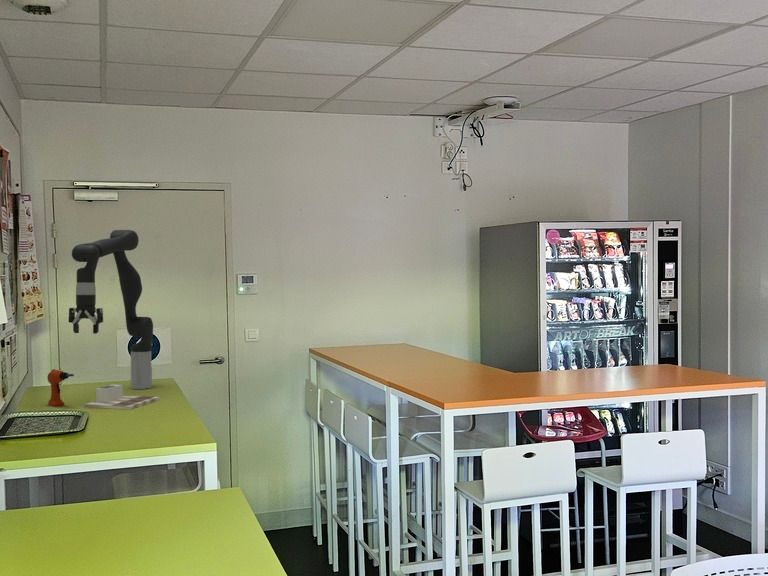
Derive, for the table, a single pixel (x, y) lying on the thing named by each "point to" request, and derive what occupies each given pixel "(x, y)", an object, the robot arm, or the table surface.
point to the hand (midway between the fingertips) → (85, 333)
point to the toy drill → (56, 386)
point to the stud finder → (109, 393)
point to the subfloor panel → (123, 402)
